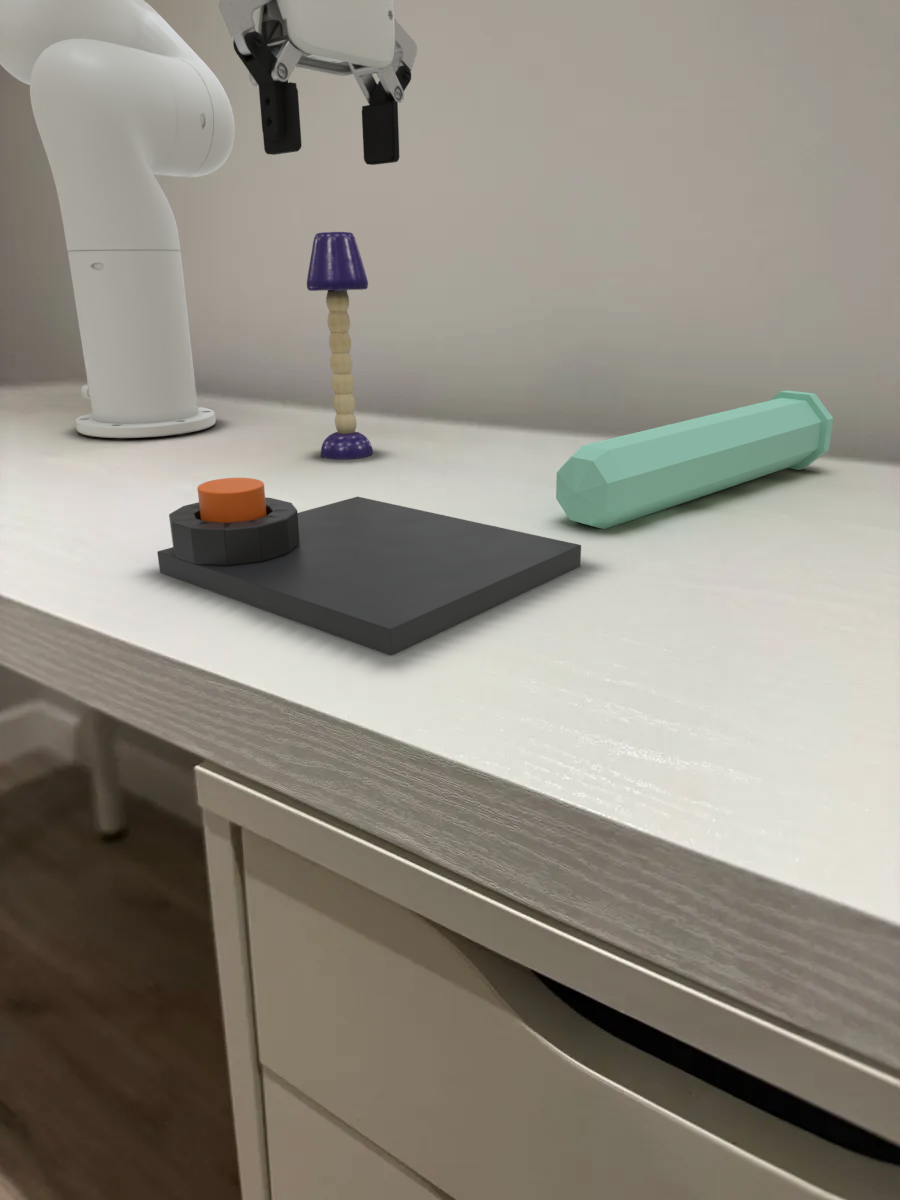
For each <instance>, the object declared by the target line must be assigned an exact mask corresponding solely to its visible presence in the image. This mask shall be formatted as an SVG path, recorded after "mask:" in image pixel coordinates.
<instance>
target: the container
mask: <svg viewBox="0 0 900 1200" xmlns="http://www.w3.org/2000/svg"><path fill="white" fill-rule="evenodd" d="M833 424H834V417H833V416H832V414H831V413H830V412H829V411H828V409H827V408H826V406H825V405H824V403H823V402H822V401H821V400H820V398H819V397H818V395H817V394H816V393H813V392H804V391H796V390H781V391H779V392H778V393H776V395H774V396H773V397H772V398H771V399H770V400H767V401H762V402H758V403H753V404H749V405H747V406H741V407H737V408H733V409H729V410H724V411H721V412H716V413H712V414H707V415H704V416H699V417H696V418H690V419H687V420H683V421H677V422H675V423H669V424H666V425H662V426H657V427H654V428H649V429H645V430H641V431H637V432H633V433H628V434H624V435H619V436H615V437H612V438H609V439H608V438H607V439H603V440H599V441H595V442H590V443H587V444H581V446H580V447H579V448H577V449H576V451H575V452H574V453H573V454H572V455H571V456H570V457H569V458H568V459H567V461H565V463H564V464H563V465H562V466H561V467H560V468H559V469H558V470H557V471H556V483H555V485H556V486H555V487H556V488H555V489H556V490H555V499H556V501H557V502H558V504H559V506H560V507H561V508H562V510H563V512H564V513H565V515H566V517H567V518H568V520H569V521H573V522H576V523H579V524H583V525H586V526H590V527H594V528H597V529H602V530H605V529H609V528H613V527H615V526H618V525H621V524H625V523H628V522H631V521H633V520H636V519H640V518H642V517H646V516H649V515H651V514H654V513H658V512H661V511H664V510H666V509H669V508H672V507H675V506H678V505H680V504H684V503H687V502H690V501H693V500H695V499H699V498H701V497H705V496H708V495H711V494H714V493H716V492H720V491H722V490H725V489H728V488H731V487H734V486H737V485H740V484H744V483H746V482H749V481H752V480H755V479H758V478H761V477H765V476H768V475H769V474H773V473H775V472H776V473H777V472H780V471H782V470H785V469H792V470H795V471H802V470H804V469H806V468H808V467H809V466H810V465H812V464H813V463H814V462H815V461H817V460H818V459H819V458H821V457H822V456H823V455H825V454H826V453H827V452H829V450H830V448H831V439H832V433H833V427H834V426H833Z"/></svg>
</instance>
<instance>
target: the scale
mask: <svg viewBox="0 0 900 1200" xmlns="http://www.w3.org/2000/svg"><path fill="white" fill-rule="evenodd" d="M265 502H266V514H267V516H265V517H262V518H258V519H254V520H250V521H241V522H231V523H224V522H206V521H202V520H201V515H200V506H199V501H198V502H194V503H190V504H186V505H182V506H181V507H179V508H177V509H175V510H174V511H172V512H171V513H169V514H168V517H169V526H170V535H171V543H172V547H168V548H164V549H161V550H158V551H157V559H158V568H159V573H160V574H163V575H164V576H167V577H170V578H173V579H176V580H179V581H182V582H185V583H187V584H190V585H193V586H195V587H198V588H202V589H204V590H206V591H210V592H212V593H215V594H218V595H221V596H224V597H227V598H229V599H231V600H235V601H238V602H240V603H243V604H246V605H248V606H251V607H254V608H257V609H259V610H261V611H264V612H265V611H266V612H268V613H272V614H274V615H276V616H279V617H282V618H285V619H287V620H290V621H293V622H295V623H299V624H301V625H305V626H307V627H310V628H312V629H316V630H318V631H321V632H324V633H327V634H330V635H332V636H335V637H337V638H341V639H344V640H346V641H349V642H351V643H354V644H358V645H360V646H362V647H366V648H369V649H371V650H374V651H376V652H379V653H382V654H385V655H387V656H394V655H396V654H398V653H400V652H402V651H404V650H407V649H409V648H411V647H413V646H415V645H417V644H419V643H422V642H423V641H426V640H427V639H430V638H433V637H434V636H436V635H438V634H440V633H442V632H445V631H448V629H451V628H453V627H455V626H457V625H459V624H462V623H463V622H466V621H468V620H470V619H472V618H474V617H476V616H478V615H480V614H483V613H484V612H488V611H489V610H491V609H493V608H495V607H497V606H499V605H502V604H503V603H506V602H508V601H510V600H512V599H514V598H517V597H518V596H521V595H523V594H525V593H527V592H530V591H531V590H533V589H535V588H538V587H539V586H542V585H544V584H546V583H548V582H550V581H552V580H555V579H557V578H559V577H561V576H563V575H565V574H567V573H570V572H572V571H574V570H576V569H578V568H580V567H581V560H582V559H581V558H582V545H581V544H577V543H575V542H569V541H564V540H561V539H560V540H559V539H554V538H550V537H546V536H541V535H536V534H532V533H527V532H523V531H519V530H514V529H509V528H504V527H499V526H496V525H491V524H486V523H483V522H477V521H472V520H467V519H463V518H458V517H454V516H449V515H445V514H439V513H435V512H431V511H427V510H426V511H425V510H422V509H416V508H412V507H408V506H403V505H400V504H399V505H398V504H394V503H389V502H385V501H380V500H375V499H371V498H366V497H361V496H355V497H350V498H347V499H343V500H340V501H336V502H333V503H329V504H325V505H322V506H317V507H313V508H310V509H307V510H304V511H300V512H298V510H297V509H298V508H297V507H295V506H294V504H293V503H292V502H289V501H285V500H281V499H277V498H274V497H266V496H265Z"/></svg>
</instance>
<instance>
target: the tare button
mask: <svg viewBox="0 0 900 1200" xmlns="http://www.w3.org/2000/svg"><path fill="white" fill-rule="evenodd" d="M196 490H197V498H198V502H199V506H200V515H201V520H202V521H206V522H224V523H231V522H241V521H250V520H254V519H258V518H262V517H265V516H267V514H266V502H265V497H266V494H265V493H266V491H265V490H266V489H265V483H264V482H263V480H260V479H256V478H250V477H225V478H218V479H212V480H207V481H205V482H203V483H201V484H198V486H197V489H196Z"/></svg>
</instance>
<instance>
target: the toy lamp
mask: <svg viewBox="0 0 900 1200" xmlns="http://www.w3.org/2000/svg"><path fill="white" fill-rule="evenodd" d="M362 259H363V258H362V256H361V252H360V250H359V246H358V243H357V238H356V237H355V235H354V234H353V233H352V232H351V231H324V232H318V233H316V234H314V238H313V241H312V247H311V254H310V260H309V264H308V265H309V266H308V272H307V278H306V288H307V290H308V291H310V292H314V291H315V292H317V291H318V292H319V291H320V292H321V291H327V293H326V297H325V303H326V307H327V309H328V311H329V312H328V315H327V327H328V331H329V332H330V334H329V337H328V346H329V350H330V352H331V355H330V356H329V357H330V358H329V365H330V366H329V367H330V370H331V372H332V376H331V387H332V391H333V392H334V396H333V401H332V402H333V408H334V410H335V413H336V414H335V418H334V425H335V426H334V427H335V429H336V431H335V432H333V433H331V434H329V435H327V437H326V438H325V439H324V440H323V442H322V444H321V448H320V456H321V457H322V458H324V459H329V460H355V459H362V458H366V457H369V456H372V455H373V453H374V449H373V446H372V444H371V442H370V440H369V439H368V437H366V435H364V434H363V433H361V432H359V431H356V428H357V425H358V424H357V418H356V417H357V416H356V415H355V409H356V399H355V396H354V393H353V392H354V388H355V380H354V376H353V374H352V371H353V358H352V355H351V353H350V351H351V348H352V338H351V335H350V333H349V330H350V328H351V318H350V315H349V313H348V310H349V306H350V297H349V294H348V291H350V290H351V291H354V290H355V291H359V290H361V291H363V290H367V289H368V287H369V280H368V277H367V273H366V269H365V266H364V263H363V260H362Z"/></svg>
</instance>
